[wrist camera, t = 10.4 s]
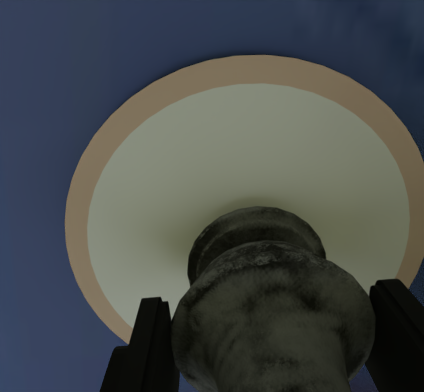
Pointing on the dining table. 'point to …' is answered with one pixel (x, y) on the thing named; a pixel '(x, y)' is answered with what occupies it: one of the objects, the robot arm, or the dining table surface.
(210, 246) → the salt shaker
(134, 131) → the dish
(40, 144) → the dining table surface
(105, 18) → the dining table surface
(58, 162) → the dining table surface
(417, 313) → the robot arm
